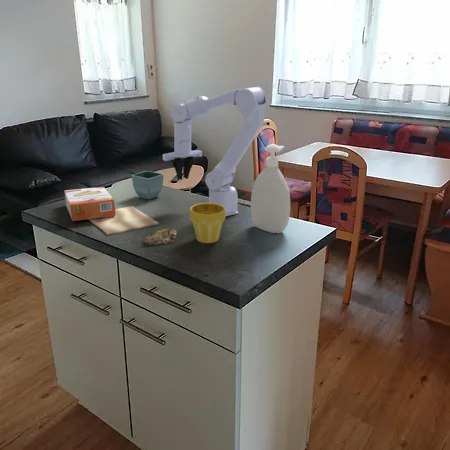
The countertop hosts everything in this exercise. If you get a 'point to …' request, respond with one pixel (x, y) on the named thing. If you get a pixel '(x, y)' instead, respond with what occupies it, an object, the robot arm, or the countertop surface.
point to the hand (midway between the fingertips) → (182, 178)
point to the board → (123, 221)
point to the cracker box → (89, 203)
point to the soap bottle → (271, 196)
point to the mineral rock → (161, 237)
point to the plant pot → (207, 221)
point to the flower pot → (147, 184)
